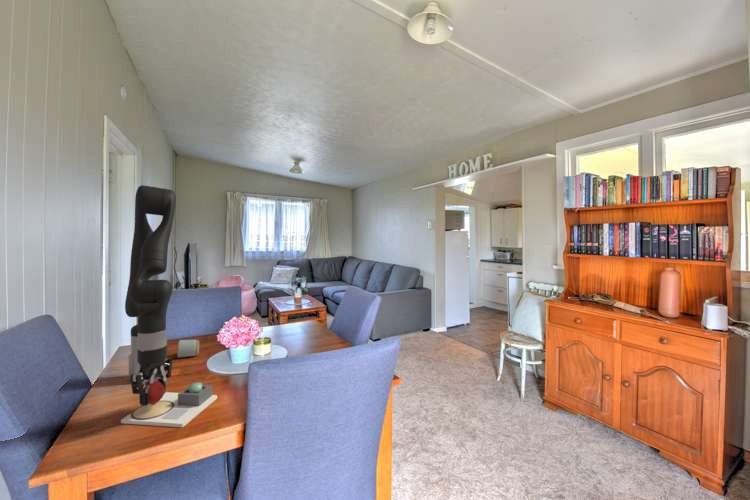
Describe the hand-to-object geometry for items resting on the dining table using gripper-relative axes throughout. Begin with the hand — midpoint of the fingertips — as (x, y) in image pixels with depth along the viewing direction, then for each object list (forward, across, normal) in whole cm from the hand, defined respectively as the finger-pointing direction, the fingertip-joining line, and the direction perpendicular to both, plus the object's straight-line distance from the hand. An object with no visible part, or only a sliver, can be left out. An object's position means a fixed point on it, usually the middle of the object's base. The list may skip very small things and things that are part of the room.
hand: (153, 399), depth 98 cm
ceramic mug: (+5, -47, -22) cm, 52 cm away
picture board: (+4, -2, +4) cm, 7 cm away
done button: (+1, -7, +9) cm, 11 cm away
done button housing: (+4, -7, +9) cm, 12 cm away
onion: (+2, 0, 0) cm, 2 cm away
